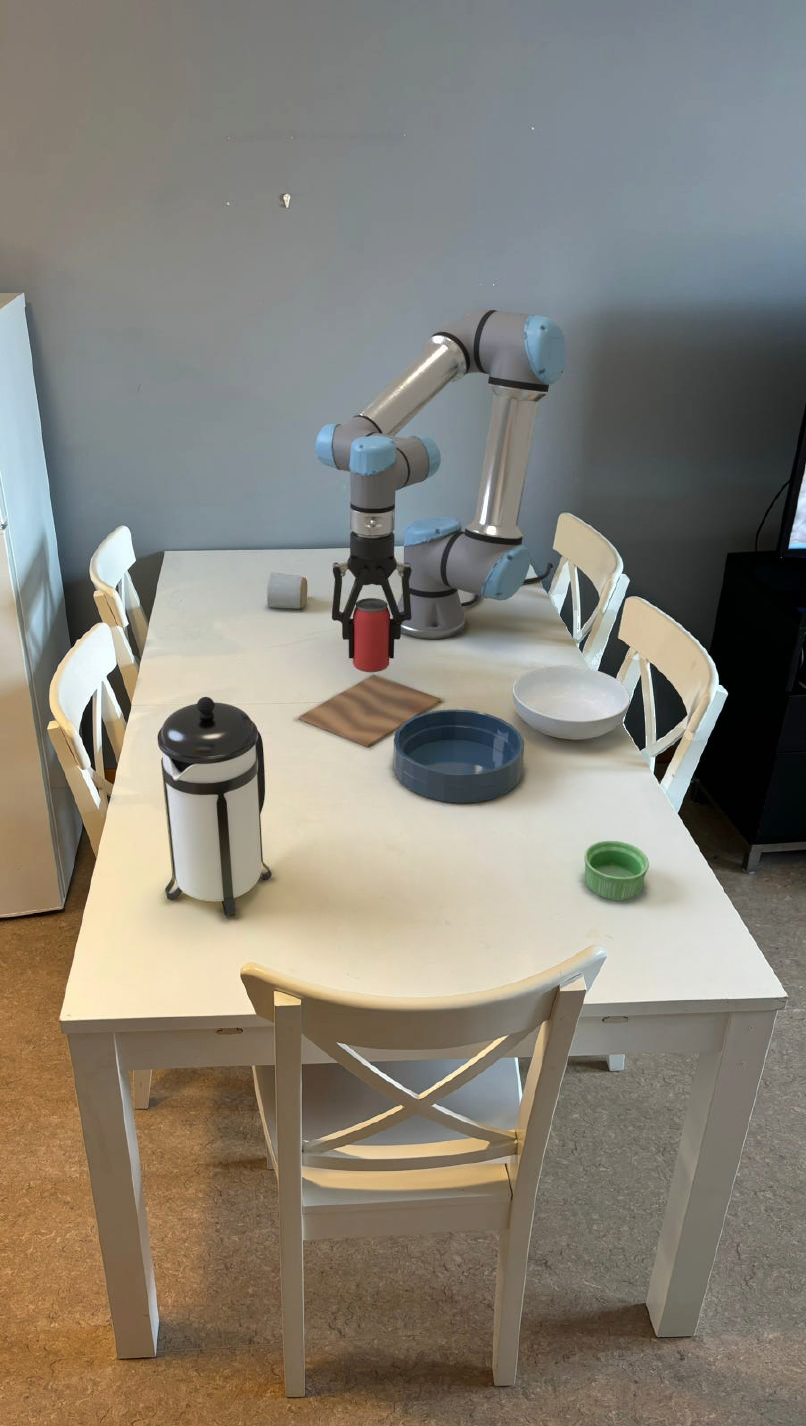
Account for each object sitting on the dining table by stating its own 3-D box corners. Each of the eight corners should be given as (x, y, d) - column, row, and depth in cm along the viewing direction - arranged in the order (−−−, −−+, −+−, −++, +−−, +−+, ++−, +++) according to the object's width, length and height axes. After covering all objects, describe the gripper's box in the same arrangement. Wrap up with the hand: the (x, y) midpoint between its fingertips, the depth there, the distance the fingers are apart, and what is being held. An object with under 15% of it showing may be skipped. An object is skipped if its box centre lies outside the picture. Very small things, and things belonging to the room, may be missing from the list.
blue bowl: (441, 724, 193) (443, 697, 191) (545, 763, 182) (548, 735, 180) (367, 773, 178) (367, 745, 175) (475, 819, 167) (477, 789, 164)
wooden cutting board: (373, 676, 209) (373, 674, 209) (441, 701, 201) (441, 698, 201) (298, 719, 194) (298, 716, 194) (367, 747, 186) (367, 745, 185)
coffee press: (289, 909, 147) (282, 717, 133) (171, 929, 143) (150, 733, 128) (266, 838, 162) (258, 657, 147) (158, 854, 157) (139, 670, 143)
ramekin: (603, 910, 148) (607, 884, 146) (569, 873, 155) (572, 848, 153) (657, 894, 152) (661, 869, 149) (621, 859, 159) (625, 834, 157)
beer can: (385, 675, 190) (386, 613, 184) (348, 671, 191) (348, 609, 185) (392, 660, 195) (394, 598, 190) (357, 656, 196) (357, 595, 191)
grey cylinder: (304, 614, 235) (303, 581, 232) (266, 612, 236) (265, 579, 232) (310, 596, 245) (310, 564, 241) (274, 594, 245) (273, 562, 241)
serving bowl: (496, 740, 189) (498, 706, 185) (525, 689, 206) (528, 657, 203) (614, 764, 182) (619, 728, 179) (634, 709, 200) (639, 676, 196)
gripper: (313, 538, 177) (316, 664, 188) (431, 539, 178) (427, 664, 189) (314, 524, 184) (316, 646, 195) (428, 524, 185) (424, 646, 196)
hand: (371, 655), depth 192 cm, fingers closed on beer can, 6 cm apart
